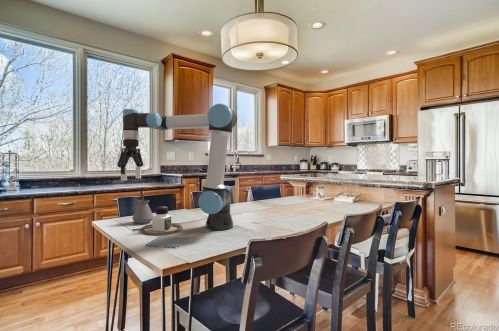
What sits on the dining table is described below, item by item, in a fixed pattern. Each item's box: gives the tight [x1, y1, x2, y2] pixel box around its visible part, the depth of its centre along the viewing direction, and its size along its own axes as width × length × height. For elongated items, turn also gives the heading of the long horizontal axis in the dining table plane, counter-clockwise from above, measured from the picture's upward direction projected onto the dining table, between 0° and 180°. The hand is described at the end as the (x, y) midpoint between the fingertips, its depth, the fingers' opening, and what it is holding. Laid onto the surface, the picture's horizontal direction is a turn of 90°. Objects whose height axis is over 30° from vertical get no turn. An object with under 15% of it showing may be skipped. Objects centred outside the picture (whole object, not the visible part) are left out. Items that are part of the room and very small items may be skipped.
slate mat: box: [145, 235, 189, 248], centre depth 126 cm, size 14×14×1 cm
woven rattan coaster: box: [140, 222, 183, 236], centre depth 147 cm, size 20×20×1 cm
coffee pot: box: [132, 193, 155, 225], centre depth 166 cm, size 21×12×15 cm, turn 21°
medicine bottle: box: [151, 206, 172, 232], centre depth 146 cm, size 7×7×12 cm
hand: (131, 179), depth 147 cm, fingers open, 13 cm apart
